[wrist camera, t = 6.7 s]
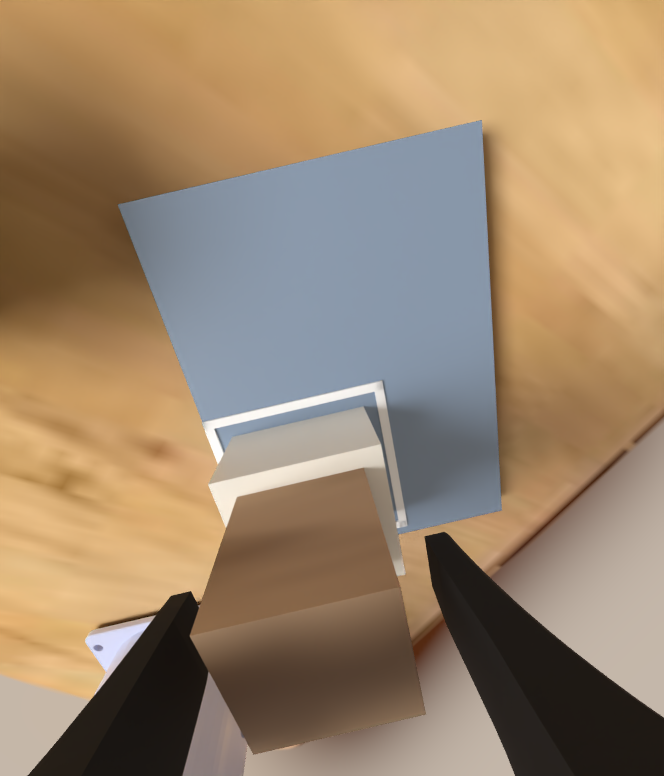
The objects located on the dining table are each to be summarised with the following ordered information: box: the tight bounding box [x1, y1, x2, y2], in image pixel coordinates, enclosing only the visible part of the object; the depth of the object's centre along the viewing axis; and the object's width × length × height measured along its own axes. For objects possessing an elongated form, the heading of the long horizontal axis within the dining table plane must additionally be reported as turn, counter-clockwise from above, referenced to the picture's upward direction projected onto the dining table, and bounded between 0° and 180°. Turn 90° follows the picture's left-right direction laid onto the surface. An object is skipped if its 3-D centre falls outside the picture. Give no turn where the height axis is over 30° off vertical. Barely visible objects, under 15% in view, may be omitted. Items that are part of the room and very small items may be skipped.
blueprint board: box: [118, 120, 502, 534], centre depth 14 cm, size 17×13×1 cm
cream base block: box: [208, 406, 406, 576], centre depth 13 cm, size 6×6×4 cm
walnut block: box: [190, 468, 426, 754], centre depth 9 cm, size 4×4×4 cm
